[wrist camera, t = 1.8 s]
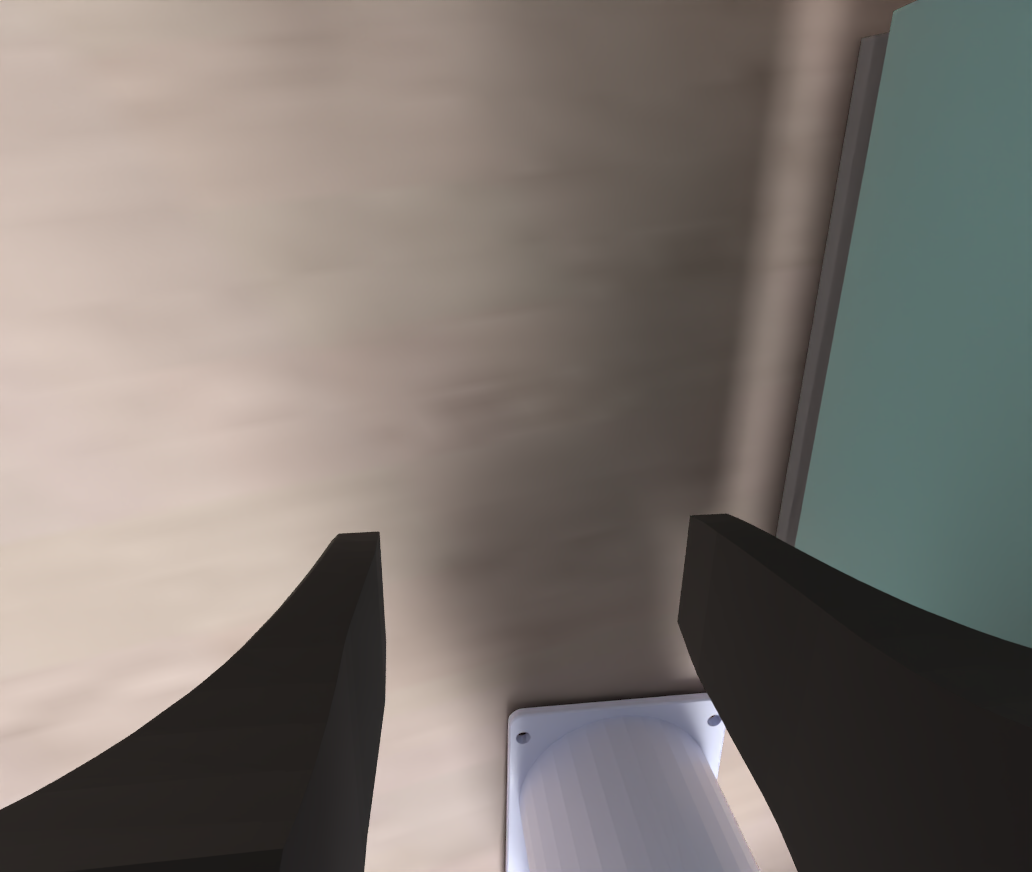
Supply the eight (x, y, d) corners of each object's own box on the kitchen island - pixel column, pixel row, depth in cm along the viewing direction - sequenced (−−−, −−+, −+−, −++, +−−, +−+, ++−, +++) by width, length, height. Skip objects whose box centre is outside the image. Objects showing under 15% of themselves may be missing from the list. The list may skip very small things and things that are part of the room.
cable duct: (1017, 597, 27) (1112, 669, 24) (761, 615, 26) (820, 695, 22) (1195, 51, 20) (1368, 32, 17) (861, 38, 19) (969, 14, 15)
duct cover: (961, 1193, 12) (895, 1182, 12) (800, 704, 22) (766, 701, 22) (1622, -254, 5) (1453, -247, 5) (944, 11, 15) (893, 11, 15)
